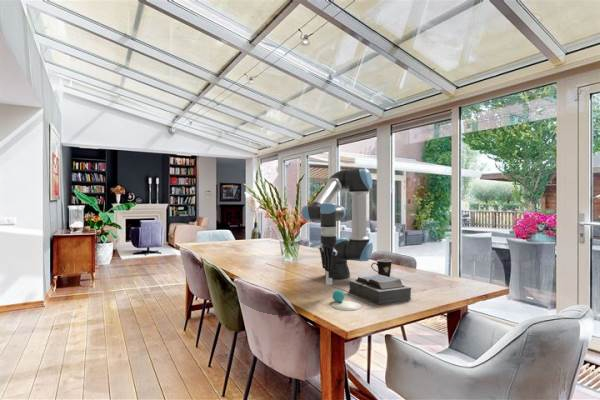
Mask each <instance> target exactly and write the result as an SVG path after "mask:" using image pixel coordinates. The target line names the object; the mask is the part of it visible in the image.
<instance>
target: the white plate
mask: <svg viewBox="0 0 600 400" xmlns="http://www.w3.org/2000/svg"><path fill="white" fill-rule="evenodd" d="M331 307H332V308H333V309H335V310H339V311H346V312H347V311H348V312H350V311H351V312H352V311H358V310H360V309H362V304H360V303H358V302H355V301H349V300H343V301H342V302H336V301H334V302H333V303H331Z"/></svg>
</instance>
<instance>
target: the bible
mask: <svg viewBox="0 0 600 400" xmlns="http://www.w3.org/2000/svg"><path fill="white" fill-rule="evenodd" d="M357 277H358V278H357V279H350V280H348V281H349V290H348V292H349V294H352V295H353V294H354V295H355V296H357V297H359V298H362V299H364V300H366V301H369V302H371V303H373V304H375V303H376V304H377V305H379V306H382V305H383V306H384V305H389V304H394V303H395V304H396V303H401V302H407V301H411V298H412V297H411V294H412V287H410V286H407V285H404V284H403V283H402V281H401V278H399V277H395V276H390V277H387V276H383V275H379V274H376V275H371V276H357Z"/></svg>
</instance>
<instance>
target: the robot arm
mask: <svg viewBox="0 0 600 400" xmlns="http://www.w3.org/2000/svg"><path fill="white" fill-rule="evenodd" d="M372 188H373V177H372V173H371V171H370V170H369V169H366V168H355V169H352V168H351V169H341V170H338V171H337V172H335V173H333V174H332V175H331V176H330V177H329V178H328V179H327V180H326V183H325V186H324V187H323V188H322V189H321V190H320V192H319V193H318V195H316V197H315V199H314V200H313V201H312V202H311V204H310V205H303V207H302V209H301V218H302V219H303V220H306V221H320V235H321V236H320V244H322V247H319V252H320V258H321V265H322V266H321V267H322V269H324V271H325V273H324V277H325V284H326V285H327V286H329V285H333V279H335V280H342V279H344V280H345V279H349V278H350V277H351V272H350V269H349V265H348V261H354V262H355V261H356V262H368V261H370V259H371V257H372V254H373V242H372V241H370V238H369V236H367V232H368V231H367V229H368V228H367V195H368V194H369V193H370V190H371V189H372ZM342 190H348V193H349V194H350V195H351V236H350V237H349V238H348V237H339V238H337V222H340V221H342V220H344V219H345V218H346V215H347V211H346V208H345V207H343V206H342V205H337V204H336V203H335V202H331V201H332V200H333V198H334V197H335V196H336V194H337V193H339V192H340V191H342ZM348 239H349V240H348Z"/></svg>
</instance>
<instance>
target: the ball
mask: <svg viewBox="0 0 600 400" xmlns="http://www.w3.org/2000/svg"><path fill="white" fill-rule="evenodd" d="M345 296H346V295H345V293H344V291H343V290H340V289H335V290H334V292H333V293H332V299H333V301H334V302H342V301H345Z"/></svg>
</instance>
